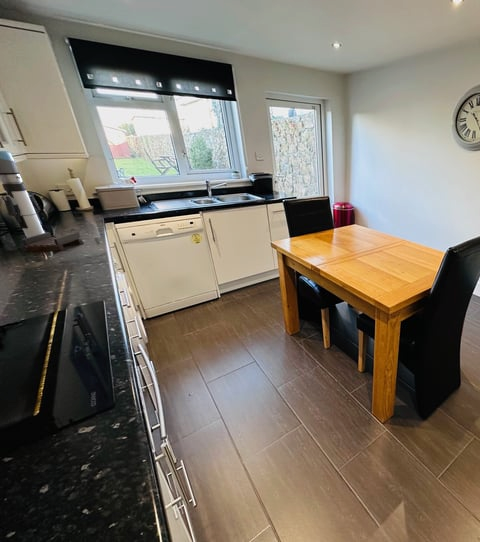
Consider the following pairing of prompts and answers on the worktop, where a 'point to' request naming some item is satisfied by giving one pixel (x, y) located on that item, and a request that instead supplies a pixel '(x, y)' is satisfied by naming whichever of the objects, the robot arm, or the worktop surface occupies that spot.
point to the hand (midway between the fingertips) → (31, 226)
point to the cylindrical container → (27, 213)
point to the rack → (51, 242)
